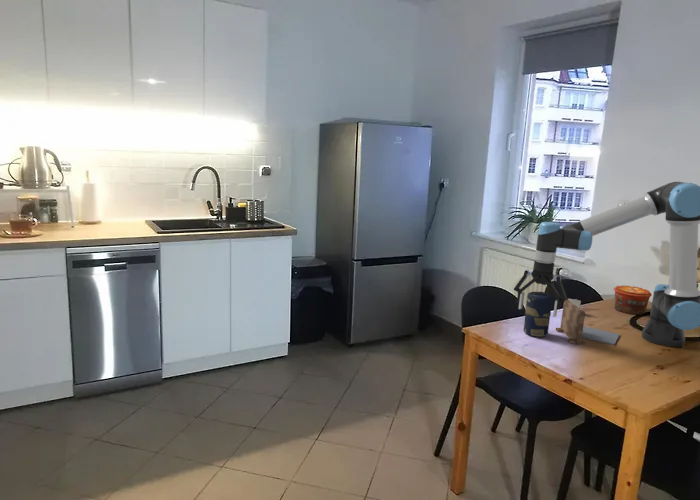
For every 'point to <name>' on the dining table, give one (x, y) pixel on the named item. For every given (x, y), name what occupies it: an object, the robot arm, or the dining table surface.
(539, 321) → the canister
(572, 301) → the architectural model
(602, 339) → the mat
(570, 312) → the tan upright piece
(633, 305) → the food container
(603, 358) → the dining table surface
